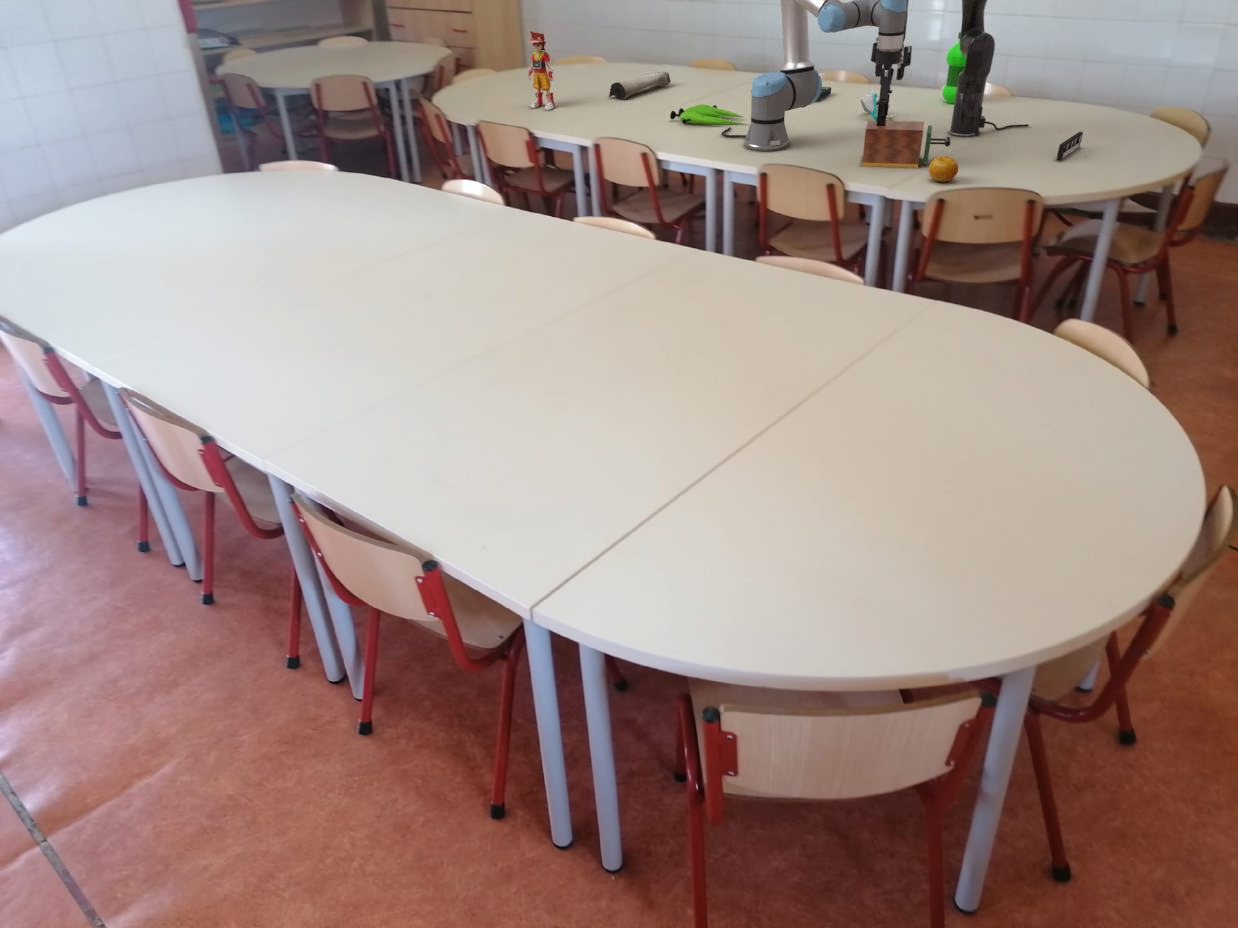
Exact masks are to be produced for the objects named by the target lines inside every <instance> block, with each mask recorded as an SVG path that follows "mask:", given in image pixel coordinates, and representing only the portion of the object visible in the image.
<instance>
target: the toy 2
mask: <svg viewBox="0 0 1238 928" xmlns="http://www.w3.org/2000/svg"><path fill="white" fill-rule="evenodd" d="M669 116H670V117H669V118H670V120H674V119H675V118H676V117H679V120H680V121H681V124H683V125H685V124H695V125H697V124H705V125H706V124H707V125H746V123H744V122H741V121H740V122H739V121H735V120H730V119H724V118H723V117H734V118H744V116H742V115H741V114H739V113H735V112H733V111H730V110H726V109H722V108H718V106H717V105H715V104H714V105H713V106H711V105H709V104H696V105H694V106H690V107H688V108H686V109H684V108H682V107H680V108H679V109H678V113H676V111H675V110H671V112H670V115H669Z"/></svg>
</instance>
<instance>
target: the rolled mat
mask: <svg viewBox="0 0 1238 928" xmlns="http://www.w3.org/2000/svg"><path fill="white" fill-rule="evenodd" d="M671 83H672V81H671V77H670V74H669V72H668V71H658V72H654V73H649V74H645V75H640V76H637V77H633V78H628V79H623V80H620V81H616V82H613V83H612V84H611V85H610V89H609V95H608V97H609V98H611V97H616V99H620V100H622V101H623V100H626V99H627V98H629V97H630V96H632V95H635V94H636V93H638V92H640V91H643V90H644V89H647V88H650V87H655V86H658V87H659V86H661V87H665V86H669V85H670V84H671Z"/></svg>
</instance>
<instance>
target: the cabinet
mask: <svg viewBox="0 0 1238 928" xmlns="http://www.w3.org/2000/svg"><path fill="white" fill-rule="evenodd" d="M924 123H925V122H924V121H913V120H912V121H911V120H910V121H909V120H908V121H905V120H886V123H885V126H876V124H877V121H876V120H867V123H866V127H865V133H864V142H863V151H862V162H861V166H862V167H885V168H886V167H887V168H890V167H891V168H916V169H918V168H919V164H920V158H919V157H921V151H920V149H922V144H921V142H923V136H922V135H924V126H925V124H924Z"/></svg>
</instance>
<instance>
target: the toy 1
mask: <svg viewBox="0 0 1238 928" xmlns="http://www.w3.org/2000/svg"><path fill="white" fill-rule="evenodd" d="M529 33H530V35H531V36H528V37H527V38H528V39H529V40H528V41H527V43H529V44H530V43H531V44H532V48H533V50H534V51H533V52H532V55H531V58H530V59H531V63H530V66H528V74H527V75H528V76H527V77H528V79H529V80H531V75H532V74H533V84H532V85H533V86H532V87H533V88H534V89H535V90H536V92H534V95H535V97H536V100H535V101H533V102H531V105H530V108H531V109H535V108H538V107H542V106H544V101H543V100H544V99H543V95H544V92H546V94H545V97H546V99H547V103H546V104H545V106H544V110H546V111H549V110H553V109H554V107H555V106H556V105H555V99H554V92H551V91H550V90H551V86H552V84H551V82H552V81H553V80H554V77H553V73H554V71H555V70H554V69H552V68H551V63H550V61H551V59H550V58H551V57H550V54H549V53H548V52H547V50H546V48H545V46H546V44H547V41H545V35H544V33H543V32H542V33H539V32H535V31H529Z"/></svg>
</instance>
